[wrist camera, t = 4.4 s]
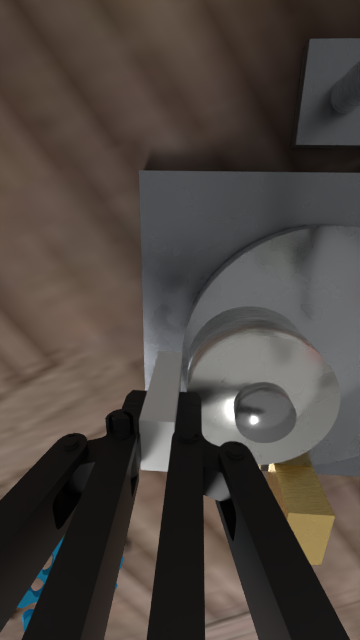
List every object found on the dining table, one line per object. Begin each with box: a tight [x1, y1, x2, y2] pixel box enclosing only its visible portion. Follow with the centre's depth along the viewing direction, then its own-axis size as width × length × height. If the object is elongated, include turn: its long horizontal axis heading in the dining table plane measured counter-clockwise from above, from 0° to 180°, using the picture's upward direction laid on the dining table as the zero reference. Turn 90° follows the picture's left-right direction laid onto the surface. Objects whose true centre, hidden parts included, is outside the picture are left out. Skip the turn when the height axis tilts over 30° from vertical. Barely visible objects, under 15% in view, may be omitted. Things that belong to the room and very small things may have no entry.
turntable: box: [182, 225, 360, 565], centre depth 20 cm, size 18×23×6 cm
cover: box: [187, 306, 340, 465], centre depth 17 cm, size 8×8×6 cm
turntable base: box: [139, 171, 360, 476], centre depth 22 cm, size 24×24×1 cm
